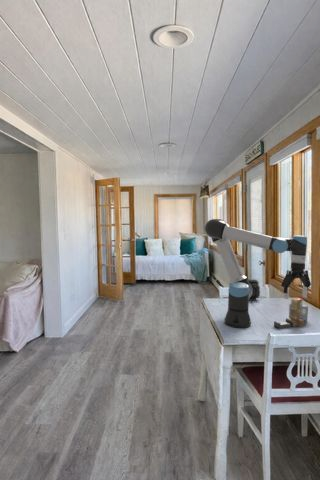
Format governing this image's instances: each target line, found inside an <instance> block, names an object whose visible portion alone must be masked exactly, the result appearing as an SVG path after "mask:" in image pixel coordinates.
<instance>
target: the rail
mask: <svg viewBox="0 0 320 480" xmlns="http://www.w3.org/2000/svg"><path fill="white" fill-rule="evenodd" d="M300 319H302V320H304V326H306V325H307V321H306V320H305V319H303V318H300ZM273 327H274V328H277V329H278V330H279V329H287V328H288V329H289V328H292V323H291V322H288V321H286V320H285V321H280V322H279V321H277V320H274V322H273Z"/></svg>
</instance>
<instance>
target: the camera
mask: <svg viewBox="0 0 320 480" xmlns="http://www.w3.org/2000/svg"><path fill="white" fill-rule="evenodd" d="M248 282H249V283H250V284H251V286H252V288H253V293H252V296H251V297H250V299H249V301H257V299H259V298H260V296H261V294H260V293H261V290H260V289H261V286H260V284H259V281H258V279H248Z"/></svg>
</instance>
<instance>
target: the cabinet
mask: <svg viewBox="0 0 320 480" xmlns="http://www.w3.org/2000/svg"><path fill="white" fill-rule="evenodd" d="M308 313H309V305H305V304H303V303H302V306H300V318H303V319H305V320H306V322H307V321H308V318H309V317H308V316H309V314H308ZM290 317H291V303H289V308H288V318H290Z"/></svg>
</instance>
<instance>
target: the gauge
mask: <svg viewBox="0 0 320 480" xmlns="http://www.w3.org/2000/svg"><path fill="white" fill-rule="evenodd" d="M296 298H297V299H300V300H301V303H300V306H302V304H303V301H304V299H303V298H302V297H296Z"/></svg>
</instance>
